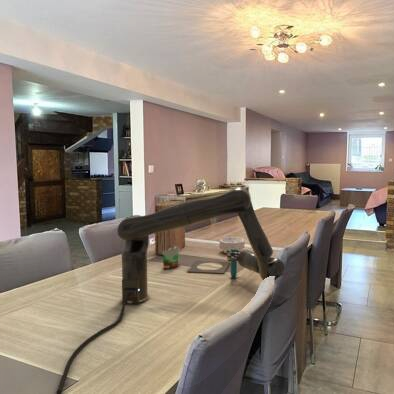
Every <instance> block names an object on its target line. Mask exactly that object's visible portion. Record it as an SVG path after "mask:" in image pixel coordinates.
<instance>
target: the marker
mask: <svg viewBox="0 0 394 394" xmlns="http://www.w3.org/2000/svg"><path fill="white" fill-rule="evenodd" d="M231 252H237V249H235V248H232V249H231ZM232 256H233V254H232ZM237 263H238V261H235V260H233V259H232V260H231V261H230V277H231V279H233V280H235V279H237V273H238V271H237V270H238V269H237V268H238V264H237Z"/></svg>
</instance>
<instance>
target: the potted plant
mask: <svg viewBox="0 0 394 394" xmlns="http://www.w3.org/2000/svg"><path fill="white" fill-rule="evenodd" d="M180 252H181V249H179V247H178V246H176V245H173V247H172V248H168V249H167V250H163V252H162V255H161V256H162V264H163V270H172V269H176V268H178V265H179V254H180Z"/></svg>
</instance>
